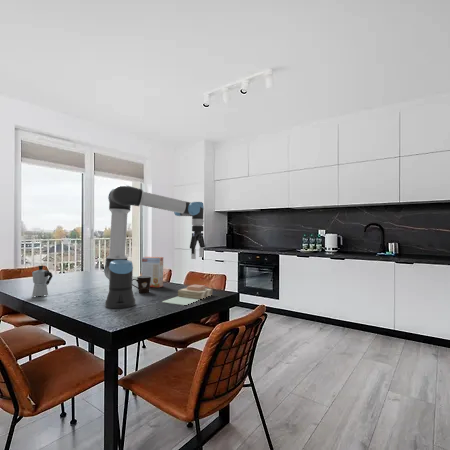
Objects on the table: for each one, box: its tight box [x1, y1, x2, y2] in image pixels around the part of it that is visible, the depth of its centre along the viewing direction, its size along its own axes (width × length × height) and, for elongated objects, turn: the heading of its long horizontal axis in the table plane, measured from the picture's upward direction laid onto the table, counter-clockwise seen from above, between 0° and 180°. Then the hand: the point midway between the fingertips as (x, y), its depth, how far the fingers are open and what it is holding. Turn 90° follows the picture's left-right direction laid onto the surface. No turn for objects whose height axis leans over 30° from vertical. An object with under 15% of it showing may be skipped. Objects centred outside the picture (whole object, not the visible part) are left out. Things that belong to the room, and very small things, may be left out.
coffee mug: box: [132, 275, 151, 294], centre depth 193 cm, size 12×9×10 cm
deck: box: [177, 287, 213, 300], centre depth 183 cm, size 14×16×4 cm
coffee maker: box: [31, 265, 53, 297], centre depth 179 cm, size 15×9×18 cm, turn 73°
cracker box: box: [141, 256, 164, 289], centre depth 213 cm, size 14×6×21 cm, turn 74°
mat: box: [161, 295, 201, 306], centre depth 170 cm, size 15×16×1 cm
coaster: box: [186, 284, 206, 291], centre depth 184 cm, size 8×8×2 cm
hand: (197, 258), depth 196 cm, fingers open, 13 cm apart
